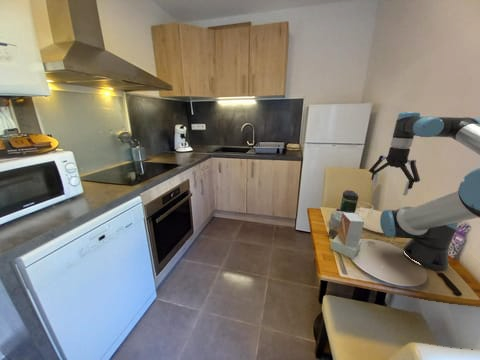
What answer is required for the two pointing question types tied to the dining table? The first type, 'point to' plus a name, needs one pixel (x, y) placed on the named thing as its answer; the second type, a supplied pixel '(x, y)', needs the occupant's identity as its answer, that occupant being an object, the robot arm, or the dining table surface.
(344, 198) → the coffee jar
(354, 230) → the small box
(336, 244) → the pedestal
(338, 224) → the lumpy-topped squat cylinder
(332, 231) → the walnut cube
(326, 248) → the dining table surface
